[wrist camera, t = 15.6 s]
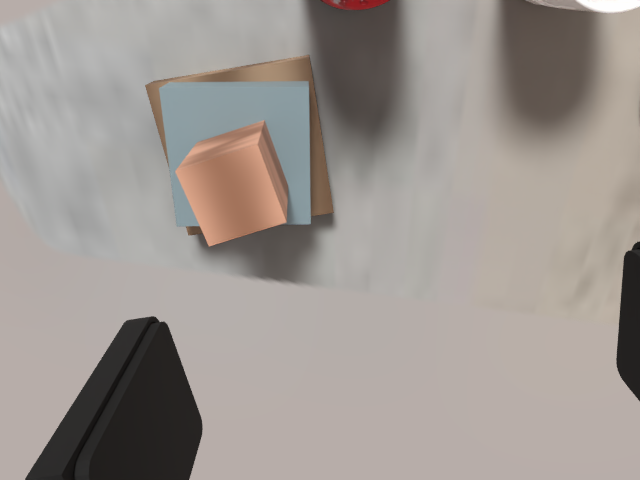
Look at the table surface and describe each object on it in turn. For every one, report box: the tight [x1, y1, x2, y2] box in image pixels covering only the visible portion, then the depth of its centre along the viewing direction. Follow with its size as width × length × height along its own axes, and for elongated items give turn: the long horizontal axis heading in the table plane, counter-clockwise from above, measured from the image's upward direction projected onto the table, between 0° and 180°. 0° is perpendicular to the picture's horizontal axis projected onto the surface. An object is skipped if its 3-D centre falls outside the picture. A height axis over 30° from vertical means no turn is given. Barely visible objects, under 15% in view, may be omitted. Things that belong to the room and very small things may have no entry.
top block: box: [159, 81, 311, 226], centre depth 37 cm, size 10×10×3 cm
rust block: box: [175, 120, 288, 246], centre depth 33 cm, size 5×5×7 cm
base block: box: [145, 55, 334, 235], centre depth 40 cm, size 12×12×3 cm
